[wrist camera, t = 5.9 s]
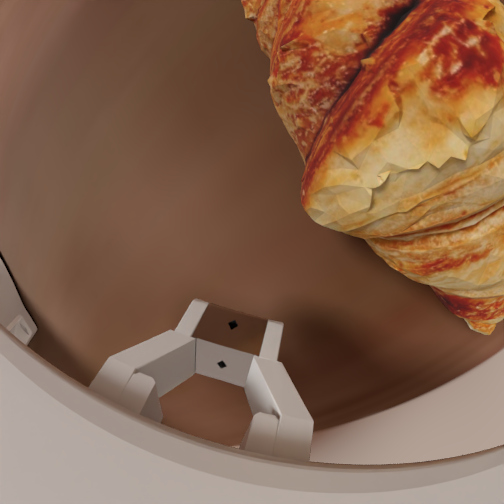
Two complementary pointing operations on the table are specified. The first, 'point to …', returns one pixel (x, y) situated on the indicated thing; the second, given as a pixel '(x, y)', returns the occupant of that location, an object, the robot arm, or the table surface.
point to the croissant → (400, 132)
